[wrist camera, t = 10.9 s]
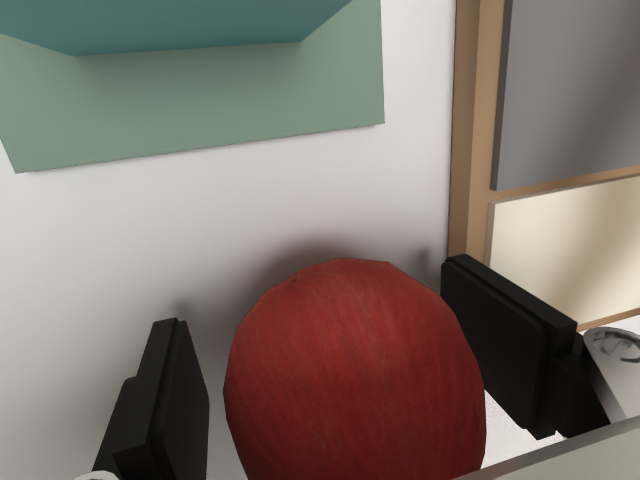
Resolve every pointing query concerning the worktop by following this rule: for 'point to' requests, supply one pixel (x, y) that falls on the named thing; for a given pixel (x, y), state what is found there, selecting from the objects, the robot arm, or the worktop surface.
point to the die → (160, 23)
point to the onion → (354, 380)
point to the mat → (188, 94)
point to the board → (550, 150)
